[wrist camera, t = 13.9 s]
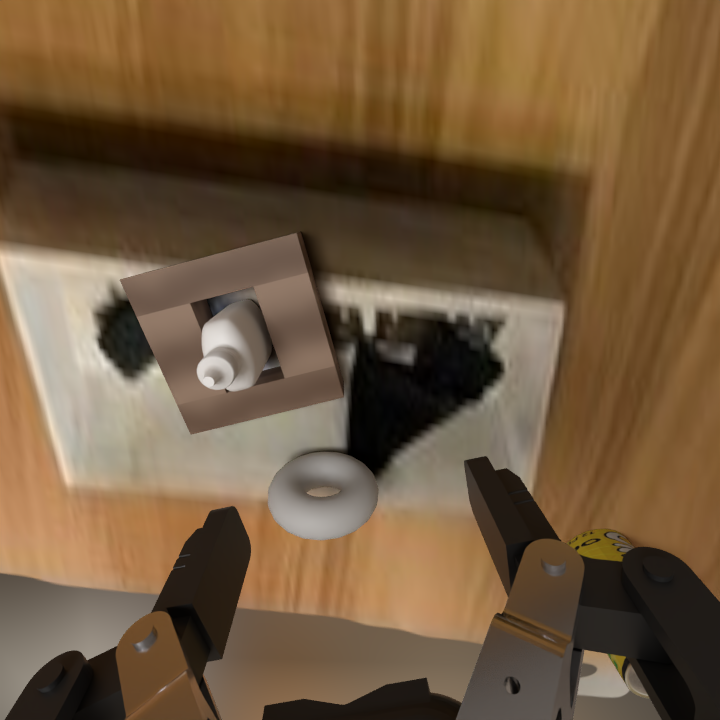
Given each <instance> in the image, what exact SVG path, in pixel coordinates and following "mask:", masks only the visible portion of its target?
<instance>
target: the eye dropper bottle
mask: <svg viewBox="0 0 720 720" xmlns="http://www.w3.org/2000/svg"><path fill="white" fill-rule="evenodd" d="M202 351H203V356H204V358H203V359H202V360H201V361H200V362H199V364H198V367H197V375H198V379H199V380H200V382H201V383H202V384H203V385H204V386H206V387H207V388H209V389H213V390H222V389H225V388H226V389H227V390H229V391H233V392H235V391H240V390H244V389H247V388H250V387H252V386H253V385H254V384H255V383H256V381H257V379H258V378H259V376H260V374H261V372H262V370H263V368H264V366H265V364H266V363H267V361H268V359H269V357H270V355H271V351H272V339H271V337H270V334H269V331H268V328H267V325H266V322H265V319H264V316H263V313H262V312H261V310H260V309H259V307H258V306H257V305H256V304H255V303H254V302H253V301H251V300H247V299H246V300H242V301H238V302H234V303H231V304H230V305H228V306H227V307H226V308H224V309H223V310H222V311H220V312H219V313H218V314H216V315H215V316H214V317H213V318H211V319H210V320H209V321H208V322H207V323H205V325H204V327H203V329H202Z"/></svg>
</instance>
